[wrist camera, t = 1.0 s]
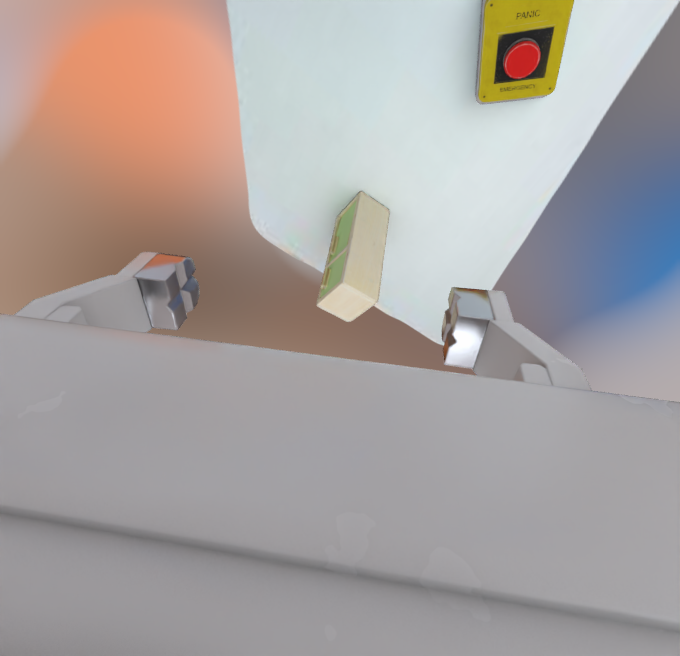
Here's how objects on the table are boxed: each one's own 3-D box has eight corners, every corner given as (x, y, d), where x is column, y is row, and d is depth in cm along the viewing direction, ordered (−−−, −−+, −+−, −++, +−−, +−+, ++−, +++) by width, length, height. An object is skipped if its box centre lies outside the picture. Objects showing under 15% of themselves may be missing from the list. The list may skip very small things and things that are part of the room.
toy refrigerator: (357, 186, 70) (339, 280, 59) (391, 209, 73) (379, 303, 61) (332, 214, 76) (311, 304, 64) (364, 234, 79) (349, 324, 67)
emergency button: (475, 120, 53) (486, -24, 41) (474, 102, 56) (484, -39, 44) (554, 112, 51) (589, -43, 39) (549, 94, 53) (581, -58, 41)
